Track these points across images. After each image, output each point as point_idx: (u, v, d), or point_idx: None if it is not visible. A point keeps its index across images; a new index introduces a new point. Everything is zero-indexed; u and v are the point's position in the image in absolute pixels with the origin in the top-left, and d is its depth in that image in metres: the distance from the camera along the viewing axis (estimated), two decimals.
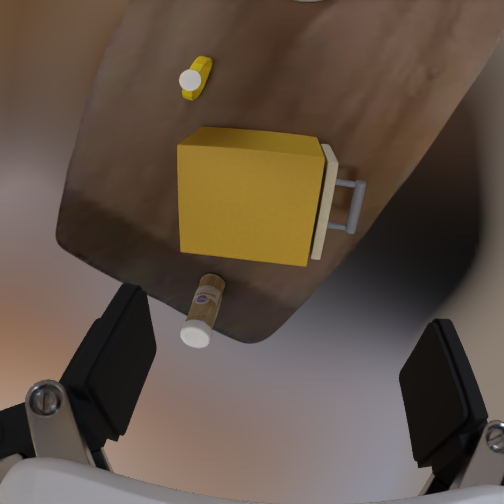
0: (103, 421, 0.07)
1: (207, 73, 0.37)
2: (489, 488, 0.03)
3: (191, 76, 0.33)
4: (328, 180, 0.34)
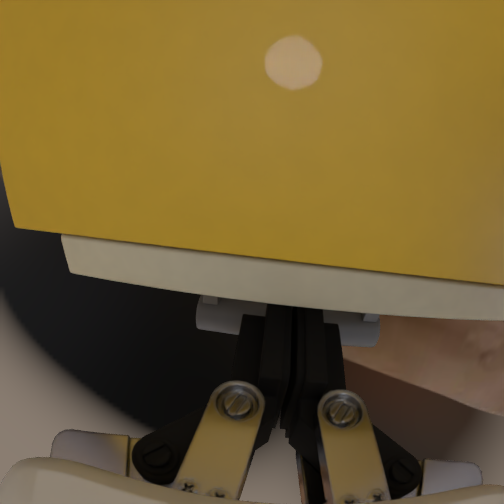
0: None
1: None
2: (489, 488, 0.03)
3: None
4: (468, 297, 0.07)
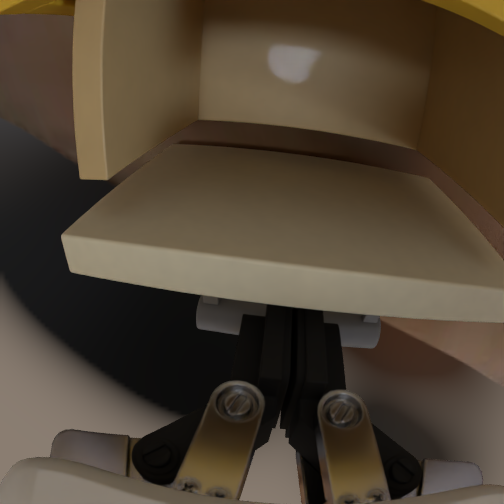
0: None
1: None
2: (489, 488, 0.03)
3: None
4: (469, 299, 0.07)
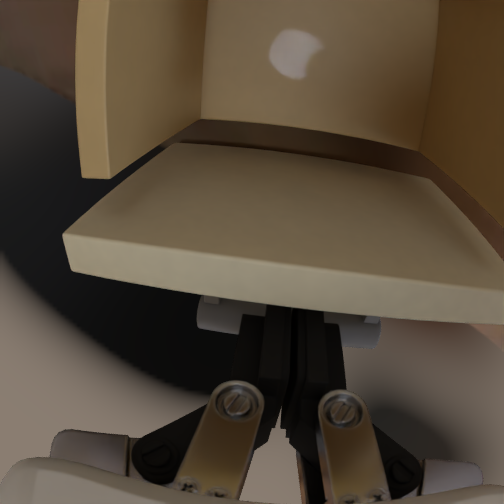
0: None
1: None
2: (489, 488, 0.03)
3: None
4: (470, 300, 0.07)
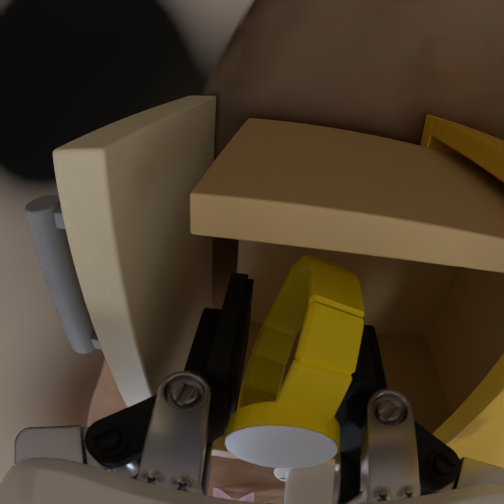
0: (227, 408, 0.08)
1: (274, 314, 0.12)
2: (489, 488, 0.03)
3: (272, 456, 0.07)
4: None
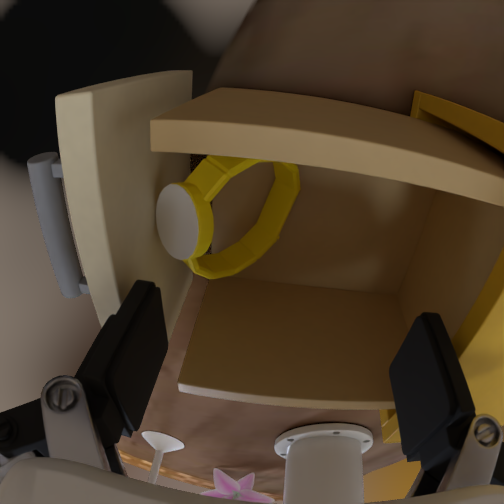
0: (119, 417, 0.07)
1: (263, 214, 0.15)
2: (489, 488, 0.03)
3: (172, 234, 0.11)
4: None
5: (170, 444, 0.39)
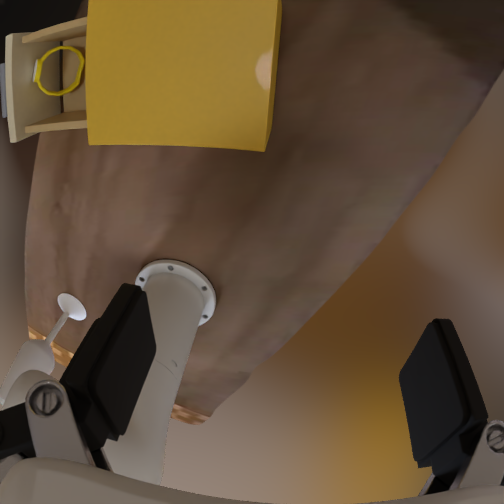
0: (103, 421, 0.07)
1: (76, 76, 0.29)
2: (489, 488, 0.03)
3: (34, 74, 0.24)
4: (12, 123, 0.25)
5: (74, 305, 0.51)
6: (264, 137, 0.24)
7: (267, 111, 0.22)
